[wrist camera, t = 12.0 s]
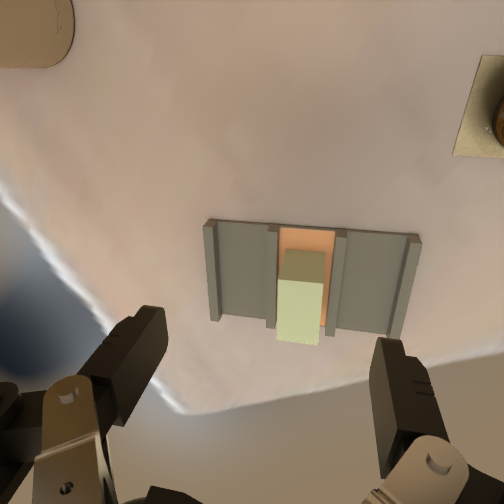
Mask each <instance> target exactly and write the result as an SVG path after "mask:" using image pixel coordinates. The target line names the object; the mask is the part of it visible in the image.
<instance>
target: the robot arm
mask: <svg viewBox="0 0 504 504" xmlns="http://www.w3.org/2000/svg"><path fill="white" fill-rule="evenodd" d="M73 33H74V17H73V10H72V5H71V1H70V0H0V68H46V67H50V66H53V65H55V64H56V63H58V62H59V61H61V60H62V59H63V57H64V56H65V55H66V54H67V52H68V50H69V47H70V45H71V42H72V38H73ZM167 346H168V331H167V324H166V317H165V311H164V308H162V307H156V306H148V305H143V306H142V307H141V308H140V309H139V311H138V312H137V313H136V314H135V316H134V317H130V316H128V317H127V318H125V319H124V320H122V321H121V322H119V323H118V324H116V326H115V327H114V328H113V329H112V331H111V332H110V333H109V336H107V337H106V338H105V339H104V340H103V342H102V344H101V345H100V346H99V347H98V348H97V349H96V350H95V352H94V353H93V354H92V355H91V357H90V358H89V359H88V361H87V362H86V363H85V364H84V366H83V367H82V368H81V369H80V370H79V372H78V373H77V374H76V375H71V376H67V377H64V378H62V379H60V380H58V381H57V382H55V383H54V384H53V385H51V386H50V387H49V388H48V390H44V391H35V392H27V393H20V391H19V389H18V387H17V385H16V384H14V383H11V382H0V504H8V502H9V501H10V499H11V498H12V496H13V495H14V493H15V492H16V490H17V489H18V487H19V486H20V484H21V483H22V481H23V480H24V478H25V477H26V476H27V474H28V473H29V471H30V470H31V468H32V467H33V465H34V472H33V493H32V504H118V500H117V495H116V491H115V484H114V477H113V470H112V463H111V456H110V449H109V443H108V436H107V432H108V431H109V429H110V428H111V426H112V425H116V426H122V427H124V425H125V424H126V422H127V420H128V418H129V417H130V415H131V413H132V411H133V409H134V408H135V406H136V404H137V402H138V400H139V399H140V397H141V395H142V394H143V392H144V390H145V388H146V386H147V385H148V383H149V381H150V379H151V377H152V376H153V374H154V372H155V370H156V369H157V367H158V365H159V363H160V361H161V360H162V358H163V356H164V354H165V352H166V350H167ZM369 387H370V395H371V403H372V411H373V419H374V427H375V435H376V443H377V451H378V459H379V466H380V475H381V479H385V481H384V482H383V483H382V485H381V486H380V487H379V488H378V489H377V490H376V489H374V490H372V491H371V492H370V493H369V494H368V496H367V497H366V498H365V500H364V501H363V502H362V504H504V482H502V481H499V480H497V479H495V478H493V477H491V476H488V475H487V474H484V473H482V472H480V471H478V470H476V469H475V468H473V467H472V466H470V465H469V464H468V463H466V461H465V459H464V457H463V456H462V454H461V453H460V452H459V451H458V450H457V449H456V448H455V447H454V446H452V445H451V443H450V441H449V438H448V435H447V432H446V429H445V426H444V423H443V419H442V416H441V413H440V410H439V407H438V404H437V401H436V398H435V397H434V391H433V388H432V386H431V382H430V378H429V375H428V372H427V369H426V368H425V367H424V366H423V365H422V363H421V362H420V361H419V360H418V358H417V357H411V356H406V355H405V351H404V347H403V343H402V341H401V340H398V339H391V338H383V337H378V339H377V341H376V346H375V350H374V354H373V358H372V362H371V366H370V373H369ZM123 504H202V503H201V502H199V501H197V500H196V499H194V498H192V497H191V496H189V495H187V494H185V493H183V492H178V491H174V490H169V489H165V488H160V487H156V486H151V487H150V489H149V491H148V494H147V496H146V497H143V498H138V499H133V500H131V501H128V502H125V503H123Z"/></svg>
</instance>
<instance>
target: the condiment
mask: <svg viewBox="0 0 504 504" xmlns="http://www.w3.org/2000/svg"><path fill="white" fill-rule="evenodd" d="M485 127H487V128H488V131H487V130H486V129H485ZM489 131H491V132H492V133H491V134H489ZM452 155H463V156H476V157H490V158H504V56H487V55H483V56H482V59H481V62H480V66H479V69H478V71H477V74H476V78H475V81H474V84H473V87H472V91H471V93H470V97H469V100H468V103H467V107H466V110H465V113H464V116H463V120H462V124H461V127H460V131H459V134H458V137H457V141H456V144H455V148H454V151H453V154H452Z"/></svg>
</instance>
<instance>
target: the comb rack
mask: <svg viewBox="0 0 504 504" xmlns="http://www.w3.org/2000/svg"><path fill="white" fill-rule="evenodd" d="M203 234H204V246H205V258H206V270H207V282H208V295H209V307H210V319H211V321H218V322H219V320H220V318H221V316H222V314H228V315H236V316H244V317H251V318H259V319H266V328H271V329H275V326H276V322H277V296H278V277H279V273H280V270H281V266H282V262H283V259H284V255H285V252H286V249H292V250H304V251H317V252H325V267H324V284H323V295H322V306H321V317H320V326H323V327H325V336H332V337H334V336H335V328H339V329H347V330H354V331H362V332H370V333H378V334H386V335H387V338H391V339H398V340H399V339H400V335H401V331H402V327H403V322H404V318H405V314H406V310H407V306H408V302H409V297H410V293H411V289H412V285H413V281H414V277H415V272H416V268H417V264H418V260H419V256H420V252H421V248H422V242H421V240H420V238H419V236H418V234H404V233H390V232H377V231H363V230H349V229H336V228H322V227H308V226H295V225H281V224H267V223H254V222H240V221H227V220H213V219H209V220H208V221H207V222H206V223H205V225H204V226H203Z"/></svg>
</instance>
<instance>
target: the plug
mask: <svg viewBox="0 0 504 504" xmlns="http://www.w3.org/2000/svg"><path fill="white" fill-rule="evenodd" d="M324 267H325V252H317V251H304V250H292V249H286V252H285V255H284V259H283V262H282V266H281V270H280V273H279V277H278V296H277V340H281V341H289V342H297V343H304V344H312V345H318V340H319V328H320V317H321V306H322V295H323V284H324Z"/></svg>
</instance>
